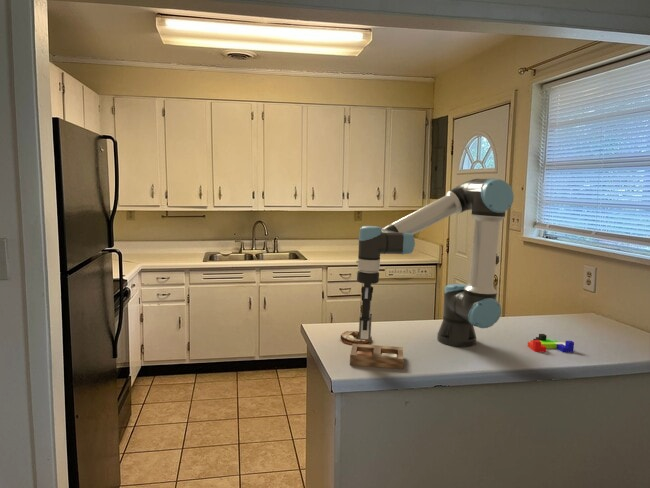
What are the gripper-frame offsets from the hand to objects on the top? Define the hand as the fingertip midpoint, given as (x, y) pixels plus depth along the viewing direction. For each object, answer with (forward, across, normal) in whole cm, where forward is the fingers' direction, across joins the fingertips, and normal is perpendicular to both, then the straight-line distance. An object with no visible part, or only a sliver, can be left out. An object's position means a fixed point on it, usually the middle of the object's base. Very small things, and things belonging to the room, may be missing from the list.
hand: (364, 336), depth 171 cm
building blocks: (+8, -30, +70) cm, 77 cm away
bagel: (+9, -21, -4) cm, 24 cm away
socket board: (+8, 0, +5) cm, 10 cm away
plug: (+1, 0, 0) cm, 1 cm away
